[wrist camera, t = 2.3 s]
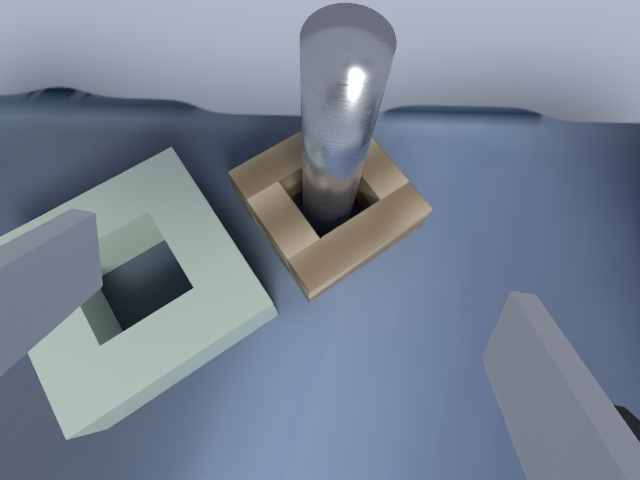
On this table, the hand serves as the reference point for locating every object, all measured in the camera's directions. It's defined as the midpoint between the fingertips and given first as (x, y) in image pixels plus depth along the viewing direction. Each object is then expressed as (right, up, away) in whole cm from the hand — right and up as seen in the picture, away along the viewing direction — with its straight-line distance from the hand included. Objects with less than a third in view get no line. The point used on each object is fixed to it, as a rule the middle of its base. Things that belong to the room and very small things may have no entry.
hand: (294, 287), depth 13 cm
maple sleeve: (+1, +4, +21) cm, 21 cm away
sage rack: (-12, -2, +18) cm, 22 cm away
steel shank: (+1, +4, +21) cm, 21 cm away
